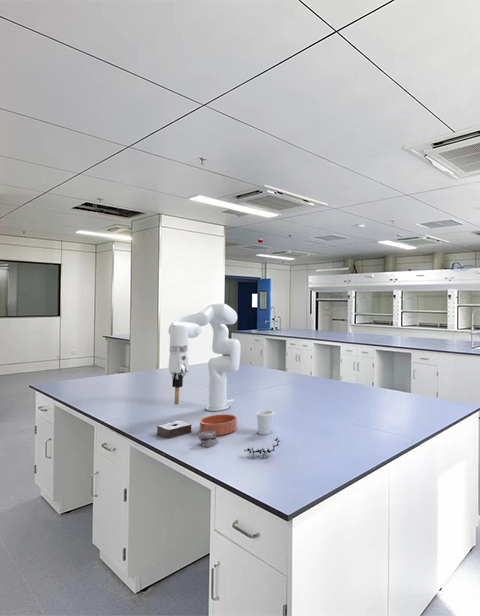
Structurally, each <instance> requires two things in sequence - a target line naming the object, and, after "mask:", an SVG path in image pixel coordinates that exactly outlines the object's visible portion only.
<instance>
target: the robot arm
mask: <svg viewBox="0 0 480 616" xmlns="http://www.w3.org/2000/svg"><path fill="white" fill-rule="evenodd" d="M237 322H238V314H237V312H236V310H234V308H232V307H231V306H230V305H228V304H226V303H216V302H210V303H206V304H204V305H203V306H201V307H200V308H199V309H198V310H196V311H195V312H193V313H189V314H187V315H183V316H180V317H178V318H176V319H175V320H174V321H172V322H171V323H170V325H169V327H168V329H167V330H168V331H167V332H168V335H169V355H168V371H169V373H170V374H171V379H172V382H171V383H172V385H171V386H172V388H174V389H175V388H178V387H179V388H182V387H183V386H184V385H183V383H184V382H183V381H184V377H185V376H186V375H187V373H188V372H189V371H190V363H189V353H188V343H189V342H188V340H189V339H194V338H197V337H199V336H200V335H201V332H202V328H201V327H204V326H206V325H208V324H209V325H210V326H211V329H212V345H211V346H212V347H211V349H212V352H213V354H216V356H212V357H210V358H209V360H208V362H207V368H208V374H209V387H208V405H207V406H206V407H205V410H206V411H210V412H219V411H224V410H228V409H229V408H230V405H229V404H232V403H234V399H233V398H232V399H227V389H228V377H227V375H226V374H225V373H236V372H238V371H239V370H240V364H241V351H242V350H241V349H242V345H241V341H240V340H238V339H237V338H229V332H230V331H229V328H228V327H227V325H234V324H235V323H237ZM217 355H218V356H217ZM220 355H223V356H220ZM224 355H229V356H224ZM175 377H176V380H175Z"/></svg>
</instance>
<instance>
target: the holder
mask: <svg viewBox="0 0 480 616" xmlns="http://www.w3.org/2000/svg"><path fill="white" fill-rule="evenodd" d="M156 427H157V428H156V435H159V436H161V437H163V438H166V439H173V438H176V437H179V436H183V435H186V434H191V433H192V424H191V423H188V422H185V421H182V420H176V421H172V422H168V423H163V424H158V425H157V426H156Z"/></svg>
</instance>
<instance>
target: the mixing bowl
mask: <svg viewBox="0 0 480 616" xmlns="http://www.w3.org/2000/svg"><path fill="white" fill-rule="evenodd" d="M237 421H238V417H237V416H236V415H234V414H227V413H226V414H224V413H223V414H222V413H221V414H214V415H209V416H205V417H203V418H201V419H200V420H199V429H198V430H199V433H201V432H205V431H215V434H216V437H217V436H224V435H225V436H226V435H228V434H231V433H233V432H235V431H236V430H237V428H238V427H237V424H238V423H237ZM213 436H214V435H213Z"/></svg>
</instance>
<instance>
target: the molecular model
mask: <svg viewBox="0 0 480 616" xmlns="http://www.w3.org/2000/svg"><path fill="white" fill-rule="evenodd" d="M273 442H277V444H272V445H271V446H272V449H269V447H266V450H265V447H264V446H262V447H261V448H260V447H257V448H256V450H254V446H248V447H246V449H244V450H243V452H246V454H248V456H249V457H250V458H256V456H255V453H257V455H259V456H260V458H263V457H264V458H267V455H268V454H269V456H271V455H272V452H274V453H275V452H276V450H275V447H280V444H279V442H282V439H280V440H279V436H276V438H275V439H273ZM262 453H263V455H261V454H262Z"/></svg>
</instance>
